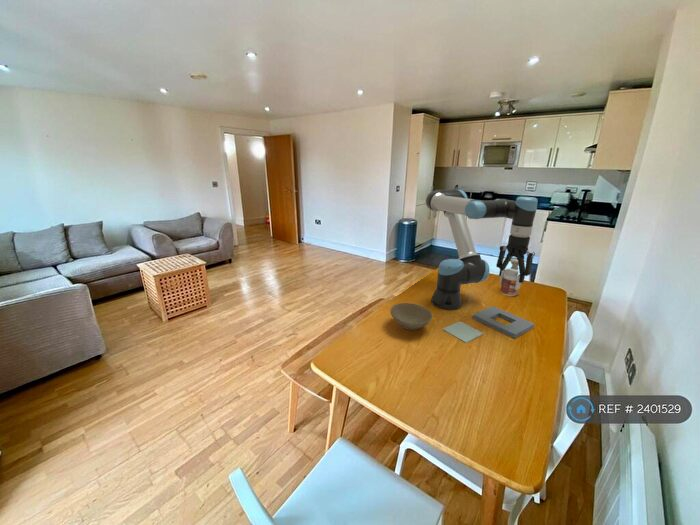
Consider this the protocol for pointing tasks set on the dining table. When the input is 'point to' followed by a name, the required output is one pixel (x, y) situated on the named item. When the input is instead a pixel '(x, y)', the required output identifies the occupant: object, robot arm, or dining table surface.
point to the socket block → (512, 329)
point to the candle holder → (514, 267)
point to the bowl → (411, 315)
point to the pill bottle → (509, 282)
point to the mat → (463, 331)
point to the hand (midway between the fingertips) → (509, 286)
